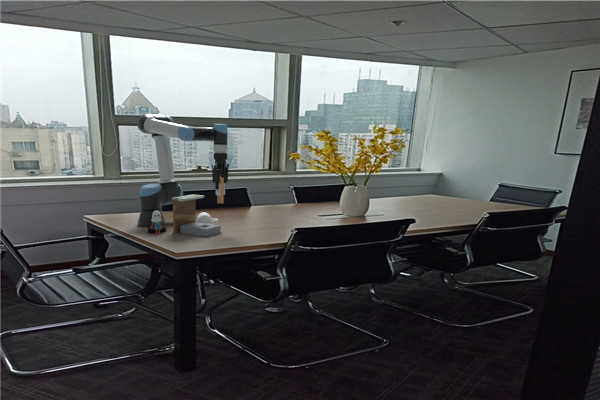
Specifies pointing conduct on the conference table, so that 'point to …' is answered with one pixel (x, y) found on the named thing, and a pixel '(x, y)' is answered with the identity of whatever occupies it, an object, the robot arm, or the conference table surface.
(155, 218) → the figurine
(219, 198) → the peg
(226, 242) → the conference table surface
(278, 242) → the conference table surface
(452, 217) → the conference table surface
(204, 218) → the mug
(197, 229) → the socket board
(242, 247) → the conference table surface
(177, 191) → the robot arm
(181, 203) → the panel
